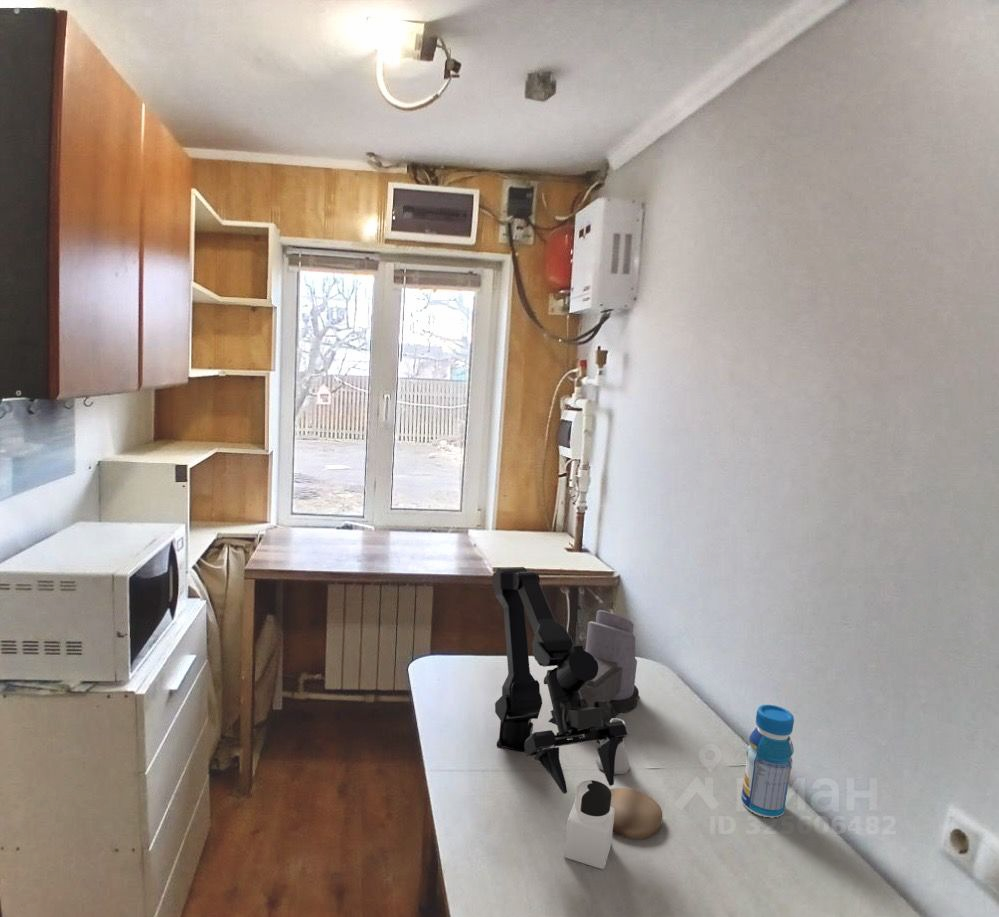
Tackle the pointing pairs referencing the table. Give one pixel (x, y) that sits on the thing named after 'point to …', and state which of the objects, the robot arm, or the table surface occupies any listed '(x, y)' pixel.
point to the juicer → (611, 664)
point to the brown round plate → (635, 814)
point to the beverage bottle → (768, 762)
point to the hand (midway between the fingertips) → (588, 789)
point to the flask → (618, 756)
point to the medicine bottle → (590, 825)
